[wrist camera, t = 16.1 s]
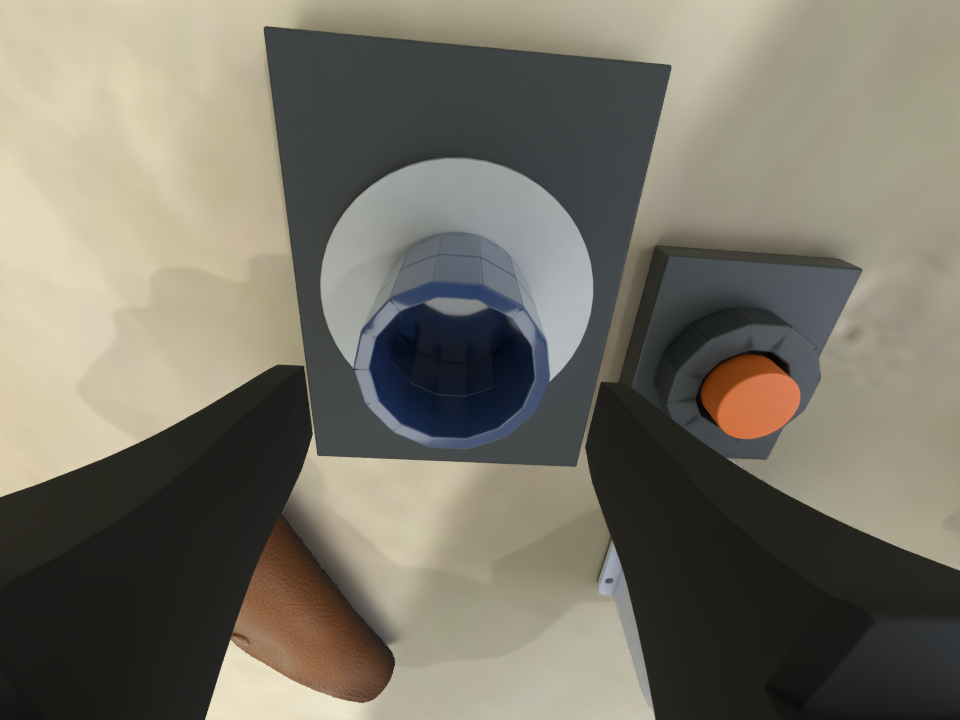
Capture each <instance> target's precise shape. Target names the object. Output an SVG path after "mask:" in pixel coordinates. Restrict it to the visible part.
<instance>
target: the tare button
mask: <svg viewBox="0 0 960 720" xmlns="http://www.w3.org/2000/svg"><path fill="white" fill-rule="evenodd" d="M701 400H702V403H703V406H704V407H705V409H706V410H707V411H708V413H709V414H710V415H711V417H712V418H713V419H714V420H715V422H716V423H717V424H718V426H719V427H720V428H721V429H722V431H724V432H725V433H726V434H728V435H730V436H732V437H735V438H739V439H754V438H759V437H762V436H766V435H768V434H770V433H772V432H774V431H776V430H778V429H779V428H781V427H782V426H784V425H785V424H786V423H787V422H788V421H789V420H790V419H791V418H792V416H793V415H794V414H795V412H796V410H797V408H798V406H799V403H800V390H799V387H798V385H797V383H796V382H795V381H794V380H793V379H792V378H791V377H790V376H789V375H788V374H786V373H785V372H784V371H783V370H782V369H781V368H779V367H778V366H777V365H776V364H775V363H774V362H772V361H771V360H770V359H768V358H767V357H764V356H761V355H756V354H745V355H739V356H736V357H732V358H730V359H728V360H726V361H724V362H722V363H721V364H719V365H718V366H717V367H716V368H714V369H713V370H712V371H711V372H710V374H709V375H708V376H707V378H706V379H705V381H704V383H703V386H702V389H701Z"/></svg>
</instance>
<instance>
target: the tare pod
mask: <svg viewBox="0 0 960 720" xmlns="http://www.w3.org/2000/svg"><path fill="white" fill-rule="evenodd" d="M861 272H862V269H861V268H859V267H857V266H854V265H852V264H850V263H847V262H845V261H843V260H840V259H833V258H819V257H805V256H791V255H778V254H764V253H750V252H736V251H722V250H708V249H694V248H680V247H667V246H657V247H656V249H655V253H654V256H653V260H652V264H651V267H650V271H649V275H648V279H647V282H646V286H645V290H644V294H643V297H642V301H641V305H640V308H639V312H638V316H637V320H636V323H635V327H634V331H633V334H632V338H631V342H630V346H629V349H628V353H627V357H626V361H625V364H624V368H623V372H622V375H621V379H620V383H626V384H627V385H629V386H630V387H632V388H633V389H634V390H636V391H637V392H638V393H640V394H641V395H642V396H644V397H645V398H646V399H647V400H649V401H650V402H651V403H652V404H654V405H655V406H656V407H658V408H659V409H660V410H661V411H663V412H664V413H665V414H666V415H668V416H669V417H670V418H671V419H673V420H674V421H675V422H677V423H678V424H679V425H680V426H682V427H683V428H684V429H686V430H687V431H688V432H690V433H691V434H692V435H694V436H695V437H696V438H698V439H699V440H701V441H702V442H703V443H705V444H706V445H708V446H709V447H710V448H712V449H713V450H715V451H716V452H718V453H719V454H721V455H722V456H723V457H725V458H739V459H762V460H766V459H768V457H769V455H770V453H771V451H772V449H773V447H774V445H775V443H776V441H777V439H778V437H779V435H780V433H781V431H782V429H783V427H784V426H786V425H787V424H788V423H789V422H791V421H792V420H793V419H794V418H796V417H797V416H798V415H799V414H801V413H802V412H803V410H805V408H806V406H807V405H808V403H809V401H810V399H811V397H812V395H813V393H814V391H815V389H816V387H817V385H818V383H819V382H820V380H821V379H820V378H821V375H820V366H819V356H820V354H821V352H822V350H823V348H824V346H825V344H826V342H827V340H828V338H829V336H830V334H831V332H832V330H833V328H834V326H835V324H836V322H837V320H838V318H839V316H840V314H841V312H842V310H843V308H844V306H845V304H846V302H847V300H848V298H849V296H850V294H851V292H852V290H853V288H854V286H855V284H856V282H857V280H858V278H859V276H860V274H861ZM745 354H756V355H761V356H764V357H767V358H768V359H770V360H771V361H772V362H774V363H775V364H776V365H777V366H778V367H779V368H781V369H782V370H783V371H784V372H785V373H786V374H788V375H789V376H790V377H791V378H792V379H793V380H794V381H795V382H796V383H797V385H798V387H799V390H800V403H799V406H798V408H797V410H796V412H795V414H794V415H793V416H792V418H791V419H790V420H789V421H788V422H787V423H786V424H785V425H784V426H782V427H781V428H779V429H778V430H776V431H774V432H772V433H770V434H768V435H766V436H762V437H759V438H754V439H739V438H735V437H732V436H730V435H728V434H726V433H725V432H724V431H722V429H721V428H720V427H719V426H718V424H717V423H716V422H715V420H714V419H713V418H712V417H711V415H710V414H709V413H708V411H707V410H706V409H705V407H704V406H703V403H702V400H701V389H702V386H703V383H704V381H705V379H706V378H707V376H708V375H709V374H710V372H711V371H712V370H713V369H714V368H716V367H717V366H718V365H719V364H721V363H722V362H724V361H726V360H728V359H730V358H732V357H736V356H739V355H745Z"/></svg>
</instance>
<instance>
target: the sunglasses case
mask: <svg viewBox="0 0 960 720" xmlns="http://www.w3.org/2000/svg"><path fill="white" fill-rule="evenodd" d="M231 640H232V641H233V642H234V643H235V644H236V645H237V646H238V647H239V648H241V649H242V650H243V651H245V652H246V653H248V654H249V655H250V656H252V657H254V658H256V659H257V660H259V661H261V662H263V663H265V664H266V665H268V666H270V667H271V668H273V669H275V670H276V671H278V672H280V673H281V674H283V675H284V676H286V677H288V678H289V679H291V680H293V681H296V682H297V683H299V684H301V685H304V686H307V687H309V688H311V689H313V690H315V691H318V692H321V693H324V694H327V695H330V696H332V697H335V698H339V699H343V700H347V701H353V702H358V703H365V702H369V701H371V700H373V699H375V698H376V697H377V696H378V695H379V694H380V693H381V692H382V691H383V690H384V688H385V687H386V686H387V684H388V683H389V681H390V679H391V677H392V674H393V670H394V666H395V658H394V656H393V654H392V652H391V650H390V649H389V647H388V646H387V645H385V643H384V642H383V640H382V639H381V638H380V637H379V636H378V635H376V634H375V632H374V631H373V630H372V629H371V628H370V627H369V626H368V625H367V624H366V622H365V621H364V620H363V618H362V617H361V616H359V615H358V614H357V613H356V612H355V611H354V610H353V609H352V607H351V605H350V603H349V602H348V601H347V600H346V598H345V597H344V596H343V594H342V593H341V592H340V590H339V589H338V588H337V586H336V585H335V584H334V583H333V581H332V580H331V579H330V578H329V577H328V575H327V574H326V573H325V572H324V571H323V569H322V568H321V567H320V566H319V564H318V562H317V561H316V559H315V558H314V557H313V555H312V554H311V553H310V551H309V550H308V549H307V547H306V546H305V545H304V544H303V542H302V541H301V540H300V538H299V537H298V536H297V535H296V533H295V532H294V531H293V529H292V528H291V527H290V525H289V524H288V522H287V521H286V519H285V518H284V517H283V515H282V514H281V515H280V517H279V519H278V521H277V523H276V525H275V527H274V529H273V531H272V533H271V535H270V537H269V539H268V542H267V544H266V546H265V548H264V550H263V552H262V554H261V557H260V559H259V561H258V564H257V566H256V568H255V571H254V573H253V576H252V579H251V581H250V584H249V587H248V590H247V593H246V595H245V598H244V601H243V604H242V607H241V609H240V612H239V615H238V618H237V621H236V624H235V627H234V630H233V633H232V636H231Z"/></svg>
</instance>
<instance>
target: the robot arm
mask: <svg viewBox="0 0 960 720" xmlns="http://www.w3.org/2000/svg"><path fill="white" fill-rule="evenodd" d="M312 435H313V433H312V425H311V417H310V409H309V402H308V394H307V386H306V378H305V371H304V366H295V365H276V366H274V367H272V368H270V369H268V370H267V371H265V372H263V373H262V374H260V375H258V376H257V377H255V378H253V379H252V380H250V381H248V382H247V383H245V384H244V385H242V386H240V387H239V388H237V389H235V390H234V391H232V392H230V393H229V394H227V395H225V396H224V397H222V398H221V399H219V400H217V401H216V402H214V403H212V404H211V405H209V406H207V407H205V408H204V409H202V410H200V411H198V412H196V413H195V414H193V415H191V416H189V417H187V418H186V419H184V420H182V421H180V422H178V423H177V424H175V425H173V426H171V427H169V428H167V429H166V430H164V431H162V432H160V433H158V434H156V435H154V436H152V437H150V438H148V439H146V440H144V441H142V442H140V443H137V444H135V445H133V446H131V447H129V448H126V449H124V450H122V451H120V452H118V453H115V454H113V455H111V456H109V457H106V458H104V459H102V460H99V461H97V462H94V463H92V464H89V465H86V466H84V467H81V468H79V469H76V470H74V471H71V472H69V473H66V474H63V475H61V476H58V477H56V478H53V479H51V480H48V481H46V482H43V483H40V484H37V485H35V486H32V487H29V488H26V489H23V490H20V491H17V492H14V493H11V494H8V495H6V496H3V497H0V720H205V718H206V715H207V711H208V708H209V705H210V702H211V698H212V695H213V692H214V689H215V685H216V682H217V679H218V676H219V673H220V669H221V666H222V663H223V660H224V657H225V654H226V651H227V648H228V645H229V642H230V639H231V636H232V633H233V630H234V627H235V624H236V621H237V618H238V615H239V612H240V609H241V607H242V604H243V601H244V598H245V595H246V593H247V590H248V587H249V584H250V581H251V579H252V576H253V573H254V571H255V568H256V566H257V564H258V561H259V559H260V557H261V554H262V552H263V550H264V548H265V546H266V544H267V542H268V539H269V537H270V535H271V533H272V531H273V529H274V527H275V525H276V523H277V521H278V519H279V517H280V515H281V512H282V510H283V508H284V506H285V504H286V502H287V500H288V498H289V496H290V494H291V492H292V489H293V487H294V485H295V483H296V481H297V479H298V477H299V474H300V472H301V470H302V467H303V464H304V461H305V458H306V455H307V452H308V448H309V445H310V442H311V438H312ZM585 448H586V453H587V459H588V464H589V469H590V474H591V479H592V483H593V486H594V489H595V492H596V495H597V498H598V501H599V504H600V507H601V509H602V512H603V515H604V518H605V521H606V524H607V527H608V529H609V532H610V535H611V538H612V540H611V543H610V546H609V549H608V553H607V556H606V559H605V562H604V565H603V568H602V571H601V574H600V577H599V580H598V583H597V590H598V592H599V593H600V594H601V595H613V596H614V599H615V603H616V606H617V610H618V613H619V617H620V620H621V623H622V627H623V630H624V634H625V637H626V641H627V644H628V647H629V651H630V654H631V658H632V661H633V665H634V668H635V671H636V675H637V678H638V682H639V685H640V688H641V691H642V693H643V696H644V698H645V700H646V702H647V703H648V705H649V707H650V708H651V710H652V711H653V713H654V714H655V719H656V720H960V571H959V570H956V569H954V568H951V567H948V566H946V565H943V564H941V563H938V562H935V561H933V560H930V559H927V558H925V557H922V556H920V555H917V554H914V553H912V552H909V551H906V550H904V549H901V548H899V547H897V546H894V545H892V544H889V543H887V542H885V541H883V540H880V539H878V538H876V537H873V536H871V535H869V534H866V533H864V532H862V531H860V530H857V529H855V528H853V527H851V526H848V525H846V524H844V523H842V522H840V521H838V520H836V519H834V518H831V517H829V516H827V515H825V514H823V513H821V512H819V511H817V510H815V509H813V508H811V507H809V506H808V505H806V504H804V503H802V502H800V501H798V500H796V499H794V498H792V497H790V496H788V495H786V494H785V493H783V492H781V491H779V490H777V489H775V488H774V487H772V486H770V485H768V484H767V483H765V482H763V481H762V480H760V479H758V478H757V477H755V476H753V475H752V474H750V473H748V472H747V471H745V470H743V469H742V468H740V467H739V466H737V465H736V464H734V463H732V462H731V461H729V460H728V459H726V458H725V457H723V456H722V455H721V454H719V453H718V452H716V451H715V450H713V449H712V448H710V447H709V446H708V445H706V444H705V443H703V442H702V441H701V440H699V439H698V438H696V437H695V436H694V435H692V434H691V433H690V432H688V431H687V430H686V429H684V428H683V427H682V426H680V425H679V424H678V423H677V422H675V421H674V420H673V419H671V418H670V417H669V416H668V415H666V414H665V413H664V412H663V411H661V410H660V409H659V408H658V407H656V406H655V405H654V404H652V403H651V402H650V401H649V400H647V399H646V398H645V397H644V396H642V395H641V394H640V393H638V392H637V391H636V390H634V389H633V388H632V387H630V386H629V385H627V384H626V383H610V382H601V384H600V388H599V393H598V397H597V401H596V405H595V409H594V413H593V417H592V421H591V425H590V429H589V433H588V437H587V442H586V446H585Z"/></svg>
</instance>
